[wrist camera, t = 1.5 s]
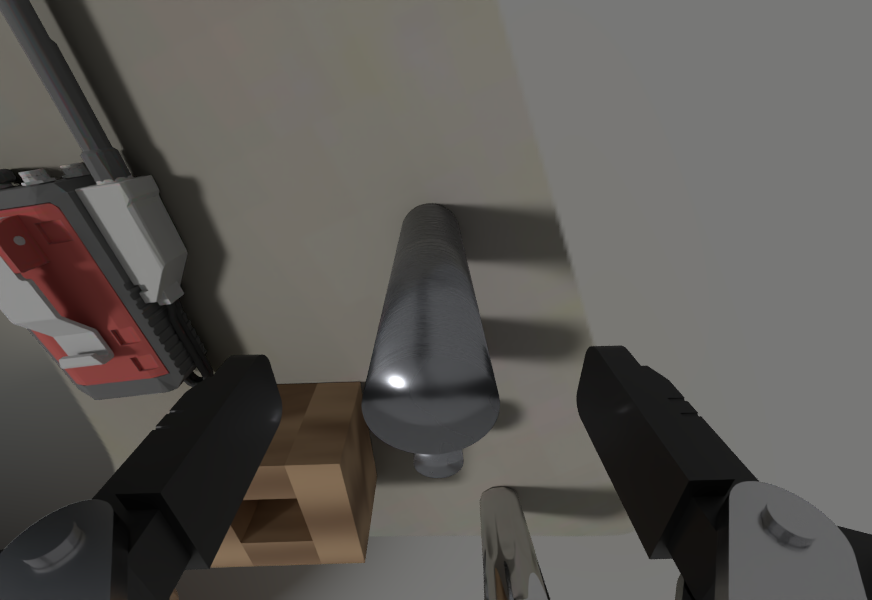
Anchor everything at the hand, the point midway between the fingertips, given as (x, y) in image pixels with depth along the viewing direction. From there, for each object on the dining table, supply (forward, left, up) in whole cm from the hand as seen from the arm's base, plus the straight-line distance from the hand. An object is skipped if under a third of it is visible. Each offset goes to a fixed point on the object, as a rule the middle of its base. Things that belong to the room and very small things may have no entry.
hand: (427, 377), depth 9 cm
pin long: (0, 0, -11) cm, 11 cm away
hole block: (+15, -10, -11) cm, 21 cm away
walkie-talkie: (-1, -17, -11) cm, 20 cm away
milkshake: (+23, +5, -11) cm, 26 cm away
